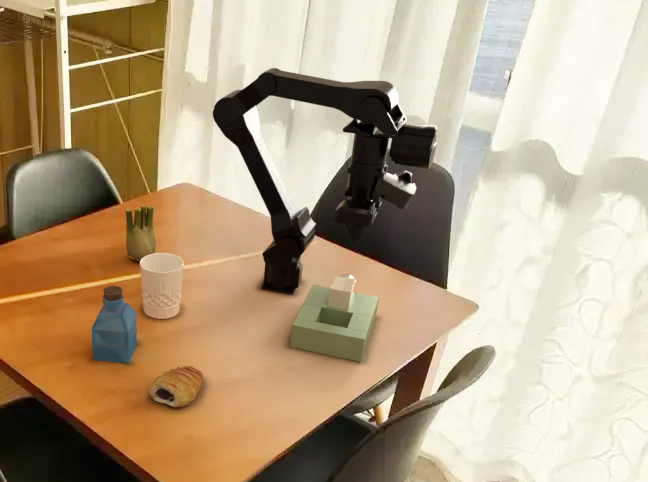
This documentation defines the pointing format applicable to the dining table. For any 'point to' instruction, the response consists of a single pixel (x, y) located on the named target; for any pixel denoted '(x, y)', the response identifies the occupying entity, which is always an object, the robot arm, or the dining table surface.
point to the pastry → (177, 386)
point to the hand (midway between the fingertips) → (355, 242)
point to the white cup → (161, 284)
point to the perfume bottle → (114, 328)
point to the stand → (334, 325)
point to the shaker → (342, 292)
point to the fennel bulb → (140, 233)
